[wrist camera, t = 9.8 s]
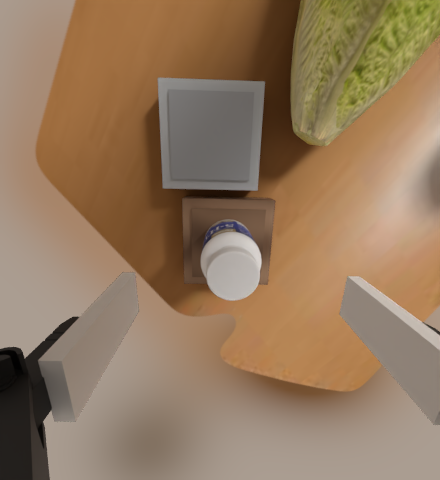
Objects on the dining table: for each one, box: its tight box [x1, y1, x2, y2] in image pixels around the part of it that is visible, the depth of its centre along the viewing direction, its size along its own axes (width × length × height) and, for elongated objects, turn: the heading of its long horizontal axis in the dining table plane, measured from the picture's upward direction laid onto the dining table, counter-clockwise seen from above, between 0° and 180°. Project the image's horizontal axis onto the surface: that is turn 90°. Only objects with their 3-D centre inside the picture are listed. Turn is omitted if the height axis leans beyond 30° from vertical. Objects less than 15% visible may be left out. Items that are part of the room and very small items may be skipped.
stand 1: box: [158, 78, 265, 191], centre depth 23 cm, size 10×10×3 cm
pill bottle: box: [201, 220, 262, 301], centre depth 20 cm, size 5×5×9 cm
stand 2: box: [182, 196, 275, 285], centre depth 26 cm, size 10×10×3 cm
